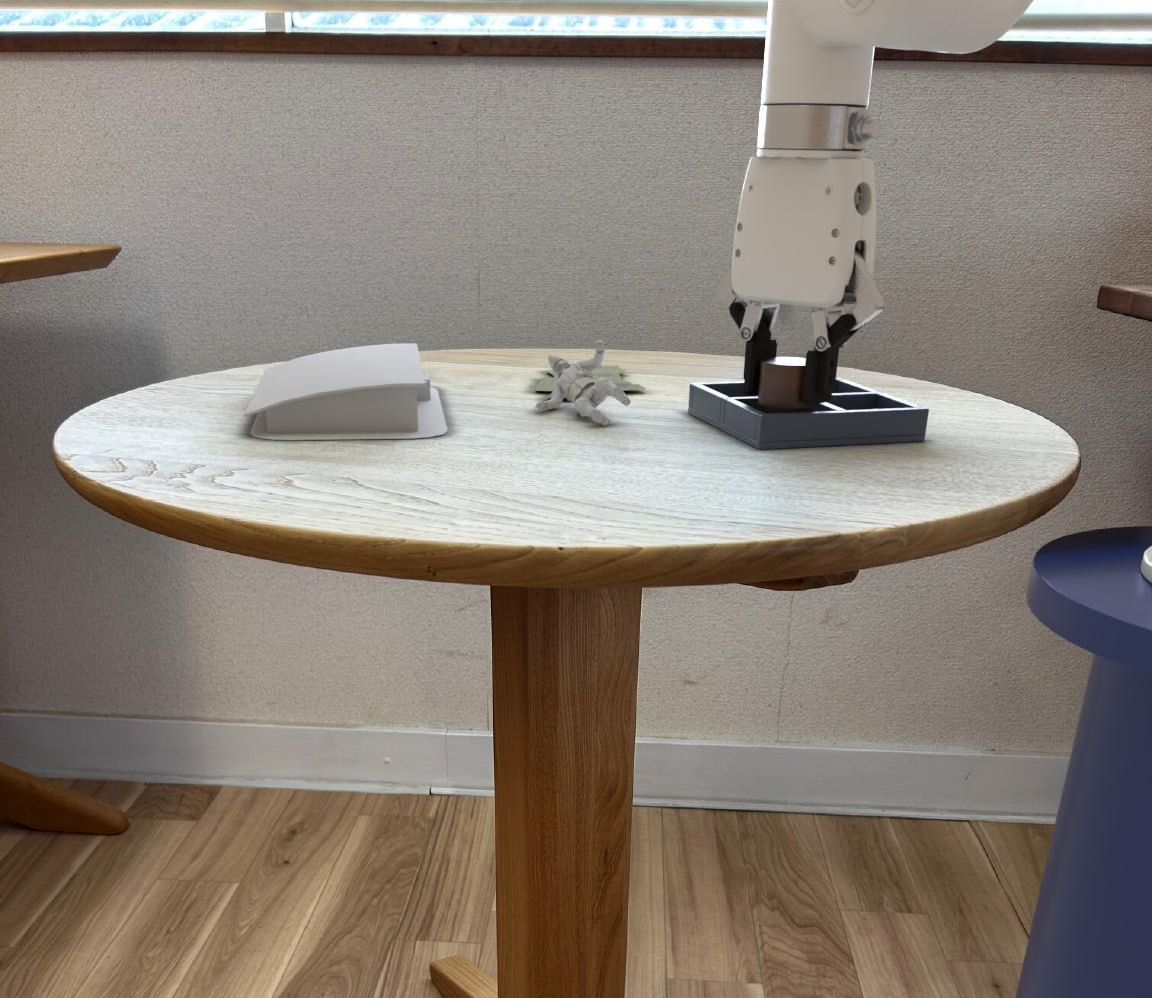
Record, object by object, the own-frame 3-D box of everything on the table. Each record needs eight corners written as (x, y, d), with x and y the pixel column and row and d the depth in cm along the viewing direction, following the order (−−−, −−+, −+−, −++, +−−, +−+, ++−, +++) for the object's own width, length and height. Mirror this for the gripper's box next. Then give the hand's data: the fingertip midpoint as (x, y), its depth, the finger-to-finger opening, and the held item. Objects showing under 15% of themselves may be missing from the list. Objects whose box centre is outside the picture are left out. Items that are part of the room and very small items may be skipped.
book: (436, 385, 114) (434, 341, 113) (449, 438, 94) (448, 385, 92) (268, 386, 112) (264, 341, 110) (245, 440, 92) (239, 387, 90)
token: (825, 407, 95) (830, 364, 93) (772, 410, 93) (776, 366, 92) (799, 397, 98) (803, 355, 97) (748, 399, 97) (751, 357, 96)
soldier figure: (563, 441, 99) (502, 370, 106) (594, 473, 102) (532, 403, 110) (635, 371, 97) (567, 305, 104) (663, 407, 101) (596, 340, 108)
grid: (924, 441, 97) (929, 408, 96) (758, 449, 93) (761, 415, 92) (837, 406, 109) (840, 377, 108) (687, 412, 105) (689, 382, 104)
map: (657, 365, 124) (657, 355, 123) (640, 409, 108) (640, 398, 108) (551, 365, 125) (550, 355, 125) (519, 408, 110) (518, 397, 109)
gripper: (944, 138, 85) (908, 407, 93) (745, 136, 95) (727, 379, 103) (889, 135, 80) (856, 420, 88) (685, 134, 90) (672, 389, 98)
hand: (787, 395), depth 96 cm, fingers open, 4 cm apart
